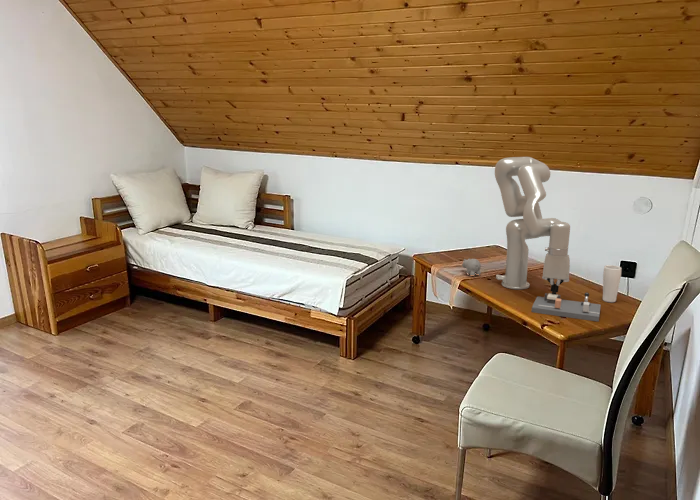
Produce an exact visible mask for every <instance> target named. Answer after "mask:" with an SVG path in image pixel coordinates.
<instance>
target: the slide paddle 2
mask: <svg viewBox="0 0 700 500" xmlns="http://www.w3.org/2000/svg"><path fill="white" fill-rule="evenodd" d="M583 302H584V305H583V311H584V312H589V301H588V302H585V301H583Z"/></svg>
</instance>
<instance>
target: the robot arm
mask: <svg viewBox="0 0 700 500" xmlns="http://www.w3.org/2000/svg"><path fill="white" fill-rule="evenodd" d="M513 177H517V178H518V181H519V183H520V186H521V188H522V192H521V189H520V186H519V183H518V182H517V181H516V179H514V178H513ZM494 178H495V181H496V183H497V186H498V189H499V191H500V196H501V200H502V203H503V209H504V212H505V214H506V216H507V217H510V218H516V219H513V220H510V221H509V222H508V223H507V224H506V226H505V234H506V243H507V244H506V260H505V261H506V264H505V274H503V275H501V274H496V275H495V279H497V280H498V281H501V285H502V287H504V288H507V289H511V290H526V289H528V288H530V285H531V284H530V283H529V282H528V281H527V277H528V265H529V247H528V244H527V242H526V241H527V240H530V239H531V240H533V239H538V238H540V237H541V238H542V237H549V241H548V242H549V243H548V247H544V251H545V252H547V253H546V255H545V258H544V261H543V270H542V276H541V278H542V280H545V281H547V282H548V283H550V293H552V294H555V295H556V294H557V293H559V287H560V285H561V284H564V283H568V282H570V268H571V265H570V255H569V254H568V253H569V243H570V233H571V224H570V223H568V222H565V221H561V220H560V219H558V218H555V217H548V218H543V216H542V215H543V214H542V210H541V206H540V203H541V201H543V200H544V199H545V198H546V196H547V192H546V189H545V187H544V184H543V183H546V182H548V181H549V180H550V178H551V171H550V167H549V166H548V165H547V164H545V163H544V162H543V161H539V159H535V158H533V157H531V156H512V157H510V156H509V157H504V158H502V159H499V160H498V161H497V162H496V164H495V166H494ZM522 193H524V194H523V195H522ZM520 217H522V218H520ZM555 280H556V282H555Z"/></svg>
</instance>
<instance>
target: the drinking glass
mask: <svg viewBox="0 0 700 500" xmlns="http://www.w3.org/2000/svg"><path fill="white" fill-rule="evenodd" d="M621 278H622V266H619V265H613V264H612V265H611V264H608V265H604V267H603V274H602V301H603V302H606V303H615V302H617V298H618V292H619V287H620V283H621Z"/></svg>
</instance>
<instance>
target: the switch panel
mask: <svg viewBox="0 0 700 500" xmlns="http://www.w3.org/2000/svg"><path fill="white" fill-rule="evenodd" d="M547 296H548V292H544V296H538V295H537V296H536V298H535V301H534V302H533V304H532V307H531V313H533V314H534V313H536V314H543V315H549V316H550V315H551V316H556V317H565V318H569V319H570V318H571V319H578V320H585V321H592V322H600V314H601V305H602V304H599V303H593V302H592V303H591V302H589V301H588V302H589V312H584V311H583V305H584V302H585V301H577V300H569V299H568V300H567V299H562V298H561V294H558V297H557V298H558V299H561V307H560V308H555V300H553V299H547Z"/></svg>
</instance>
